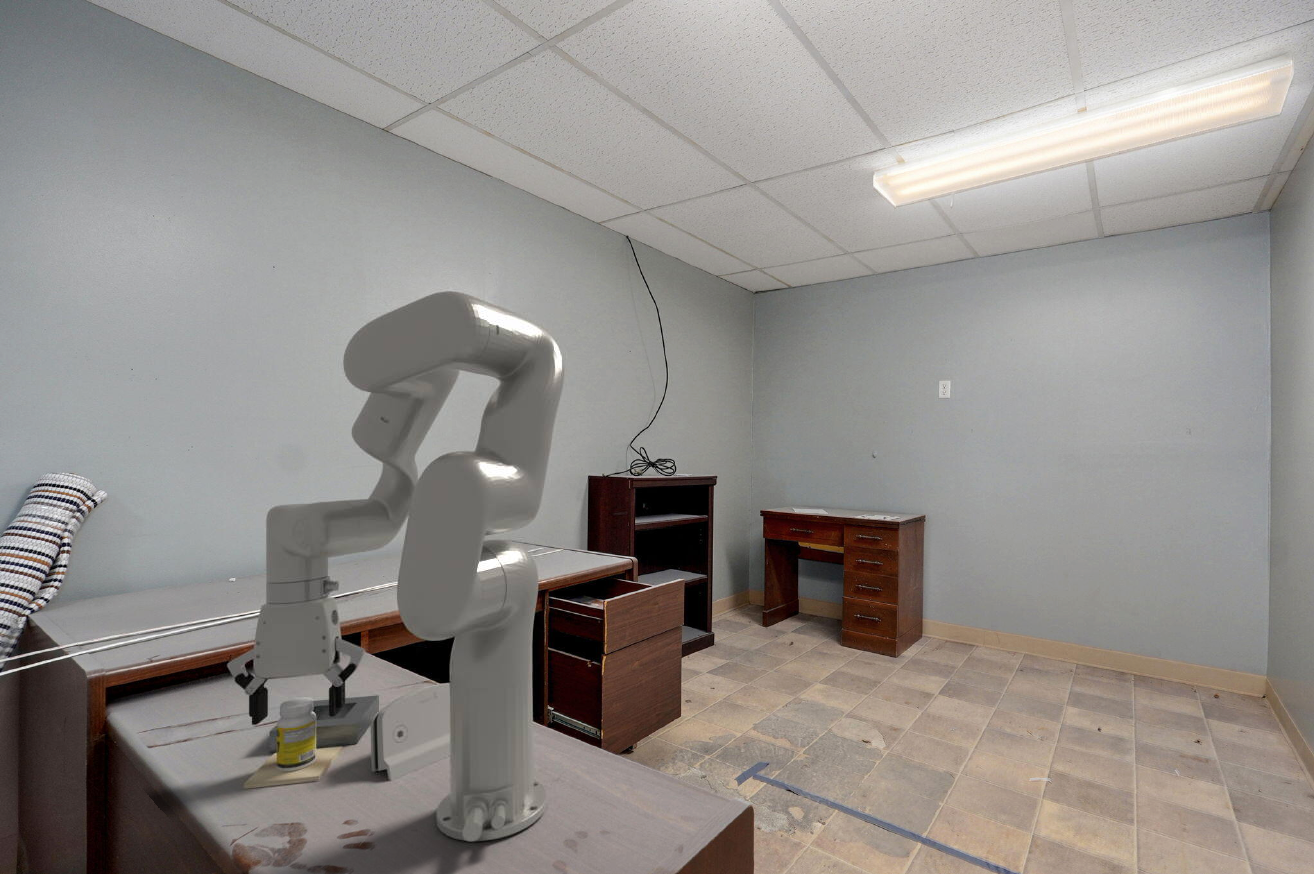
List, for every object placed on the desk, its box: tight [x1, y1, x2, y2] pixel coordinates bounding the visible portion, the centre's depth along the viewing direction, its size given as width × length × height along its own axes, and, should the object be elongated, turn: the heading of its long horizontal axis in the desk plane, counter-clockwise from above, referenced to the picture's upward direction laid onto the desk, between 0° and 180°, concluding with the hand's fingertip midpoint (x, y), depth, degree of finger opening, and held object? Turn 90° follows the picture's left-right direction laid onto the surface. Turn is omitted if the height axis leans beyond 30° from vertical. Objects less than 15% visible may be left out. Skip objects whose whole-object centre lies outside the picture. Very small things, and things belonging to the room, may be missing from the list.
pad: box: [243, 745, 343, 790], centre depth 84 cm, size 9×9×1 cm
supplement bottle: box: [276, 696, 317, 772], centre depth 84 cm, size 5×5×8 cm
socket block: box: [269, 695, 380, 753], centre depth 96 cm, size 12×12×3 cm
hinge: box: [369, 682, 450, 781], centre depth 88 cm, size 17×5×10 cm, turn 141°
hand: (298, 717), depth 84 cm, fingers open, 9 cm apart
